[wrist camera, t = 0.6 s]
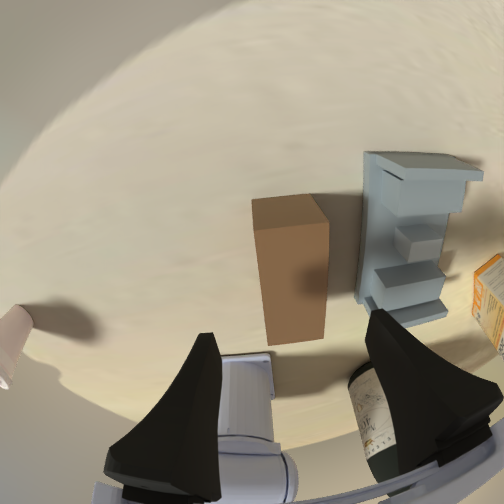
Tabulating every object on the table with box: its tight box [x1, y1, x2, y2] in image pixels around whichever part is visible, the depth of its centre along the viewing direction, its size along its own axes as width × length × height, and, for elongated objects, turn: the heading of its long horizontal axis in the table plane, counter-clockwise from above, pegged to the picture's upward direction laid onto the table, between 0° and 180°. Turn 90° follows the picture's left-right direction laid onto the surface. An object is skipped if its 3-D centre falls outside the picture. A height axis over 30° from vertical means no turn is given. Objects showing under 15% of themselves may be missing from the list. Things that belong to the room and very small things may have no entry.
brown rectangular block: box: [252, 194, 329, 346], centre depth 18 cm, size 9×4×5 cm, turn 7°
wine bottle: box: [348, 362, 413, 497], centre depth 17 cm, size 8×8×30 cm
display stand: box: [354, 152, 484, 328], centre depth 17 cm, size 13×8×5 cm, turn 7°
